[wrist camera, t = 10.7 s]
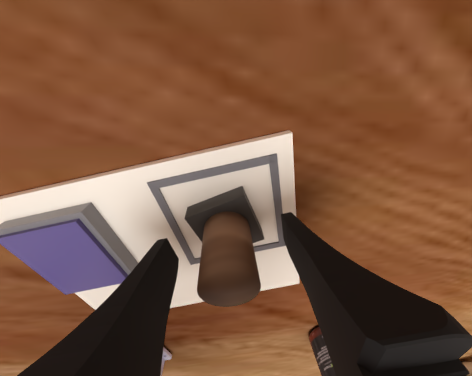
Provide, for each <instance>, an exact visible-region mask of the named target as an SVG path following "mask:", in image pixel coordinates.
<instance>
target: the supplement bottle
mask: <svg viewBox="0 0 472 376" xmlns="http://www.w3.org/2000/svg"><path fill="white" fill-rule="evenodd" d="M309 340H310V343H311V346H312V349H313V352H314V355H315V358H316V361H317V363H318V366H319V369H320V372H321V375H322V376H336V374H335V371H334V368H333V365H332V362H331V359H330V356H329V353H328V350H327V347H326V344H325V341H324V339H323V336H322V333H321V330H320V327H317V328H315V329H314V330H313V331H312V332H311V333H310V336H309Z"/></svg>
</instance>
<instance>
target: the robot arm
mask: <svg viewBox="0 0 472 376" xmlns="http://www.w3.org/2000/svg"><path fill="white" fill-rule="evenodd" d="M281 221H282V231H283V239H284V242H285V245H286V247H287V250H288V253H289V255H290V258H291V260H292V262H293V264H294V266H295V268H296V270H297V273H298V275H299V277H300V279H301V281H302V283H303V285H304V288H305V290H306V292H307V295H308V297H309V300H310V302H311V305H312V308H313V311H314V313H315V316H316V319H317V322H318V324H319V327H320V330H321V333H322V336H323V339H324V341H325V344H326V347H327V350H328V353H329V356H330V359H331V362H332V365H333V368H334V371H335V374H336V376H467V375H468V374H470V373H469V371H468V369H467V368H466V367H465V366H464V365H463V363H462V362H461V361H460V360H459V358H460V357H461V356H462V355H463V354H464V353H466V352H467V351H468V350H469V349H470V348H471V347H472V336H471V335H470V334H469V333H468V332H467V331H466V330H465V329H464V328H463V327H462V325H461V324H460V323H459V322H458V321H457V320H456V319H455V318H454V317H453V316H452V315H450V314H449V313H448V312H447V311H446V310H445V309H444V308H443V307H442V306H440V305H438V304H436V303H433V302H431V301H429V300H427V299H425V298H422V297H420V296H418V295H416V294H413V293H411V292H409V291H407V290H405V289H403V288H401V287H399V286H397V285H395V284H393V283H391V282H389V281H387V280H385V279H383V278H381V277H379V276H378V275H376V274H374V273H372V272H370V271H369V270H367V269H365V268H363V267H362V266H360V265H358V264H357V263H355V262H353V261H352V260H350V259H349V258H347V257H346V256H344V255H343V254H341V253H340V252H338V251H337V250H335V249H334V248H333V247H331V246H330V245H329V244H327V243H326V242H325V241H323V240H322V239H321V238H319V237H318V236H317V235H316V234H315V233H313V232H312V231H311V230H310V229H309V228H308V227H306V226H305V225H304V224H303V223H302V222H301V221H300V220H299V219H298V218H297V217H296V216H295V215H294V214H293V213H291V212H289V213H284V214H281ZM178 264H179V258H178V257H177V255H176V253H175V251H174V250H173V248H172V246H171V244H170V243H169V241H168V239H167V238H165V239H160V240H157V241H156V242H155V243H154V245H153V246H152V247H151V248H150V250H149V251H148V252H147V253H146V255H145V256H144V257H143V258H142V259H141V261H140V262H139V263H138V264H137V266H136V267H135V268H134V269H133V270H132V272H131V273H130V274H129V275H128V276H127V277H126V278H125V280H124V281H123V282H122V283H121V284H120V285H119V286H118V288H117V289H116V290H115V291H114V292H113V293H112V294H111V295H110V296H109V297H108V298H107V299H106V300H105V301H104V302H103V303H102V304H101V305H100V306H99V307H98V308H97V309H96V310H95V311H94V312H93V313H92V314H91V315H90V316H89V317H87V318H86V319H85V320H84V321H83V322H82V323H81V324H80V325H79V326H78V327H77V328H75V329H74V330H73V331H72V332H71V333H70V334H69V335H67V336H66V337H65V338H64V339H63V340H62V341H60V342H59V343H58V344H57V345H56V346H54V347H53V348H52V349H51V350H49V351H48V352H47V353H46V354H44V355H43V356H42V357H41V358H39V359H38V360H37V361H36V362H34V363H33V364H32V365H30V366H29V367H28V368H26V369H25V370H24V371H23V372H21V373H20V374H19V375H17V376H162V372H163V367H164V363H165V360H170V359H171V358H172V354H171V353H170V352H169V351H168V350H166V349H165V348H164V347H163V346H164V339H165V331H166V324H167V319H168V314H169V310H170V305H171V301H172V297H173V292H174V288H175V284H176V279H177V274H178Z"/></svg>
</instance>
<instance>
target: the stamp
mask: <svg viewBox="0 0 472 376" xmlns="http://www.w3.org/2000/svg"><path fill="white" fill-rule="evenodd" d="M184 219H185V220H186V221H187V223H188V224H189V225H190V227H191V228H192V230H193V231H194V232H195V234H196V235H197V236H198V238H199V239H200V240H201V242H202V249H201V258H200V266H199V275H198V284H197V293H198V296H199V297H200V298H201V299H202V300H203V301H205V302H206V303H209V304H211V305H215V306H223V307H229V306H237V305H241V304H244V303H246V302H248V301H250V300H252V299H253V298H255V297H256V296H257V295H258V293H259V292H260V289H261V283H260V278H259V273H258V268H257V262H256V257H255V252H254V247H253V243H255V242H258V241H261V240H264V235H263V232H262V228H261V226H260V223H259V221H258V219H257V217H256V215H255V212H254V210H253V208H252V206H251V204H250V201H249V199H248V197H247V195H246V193H245V190H244V188H243V186H240V187H238V188H235V189H232V190H230V191H227V192H225V193H222V194H220V195H217V196H214V197H212V198H209V199H207V200H204V201H202V202H199V203H196V204H194V205H191V206H189V207H187V211H186V214H185V218H184Z"/></svg>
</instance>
